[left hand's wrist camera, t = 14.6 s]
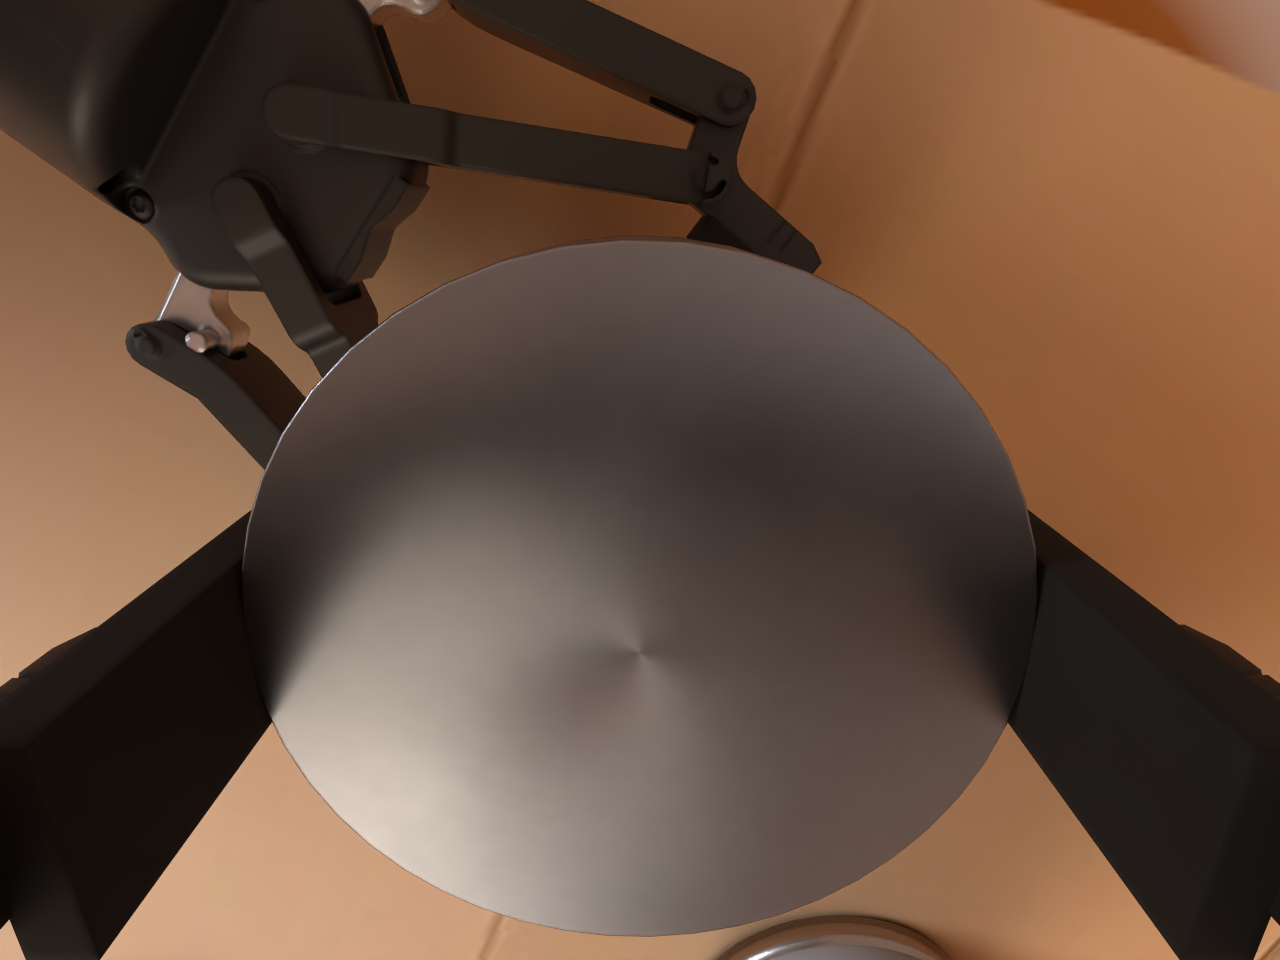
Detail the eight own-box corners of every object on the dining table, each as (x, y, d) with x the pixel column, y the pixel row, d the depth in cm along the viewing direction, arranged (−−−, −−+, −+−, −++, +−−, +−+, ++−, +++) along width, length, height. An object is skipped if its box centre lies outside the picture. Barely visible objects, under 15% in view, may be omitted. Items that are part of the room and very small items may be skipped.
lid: (209, 709, 13) (145, 782, 11) (460, 75, 9) (422, 44, 8) (755, 928, 15) (770, 1018, 13) (1131, 459, 11) (1215, 502, 10)
